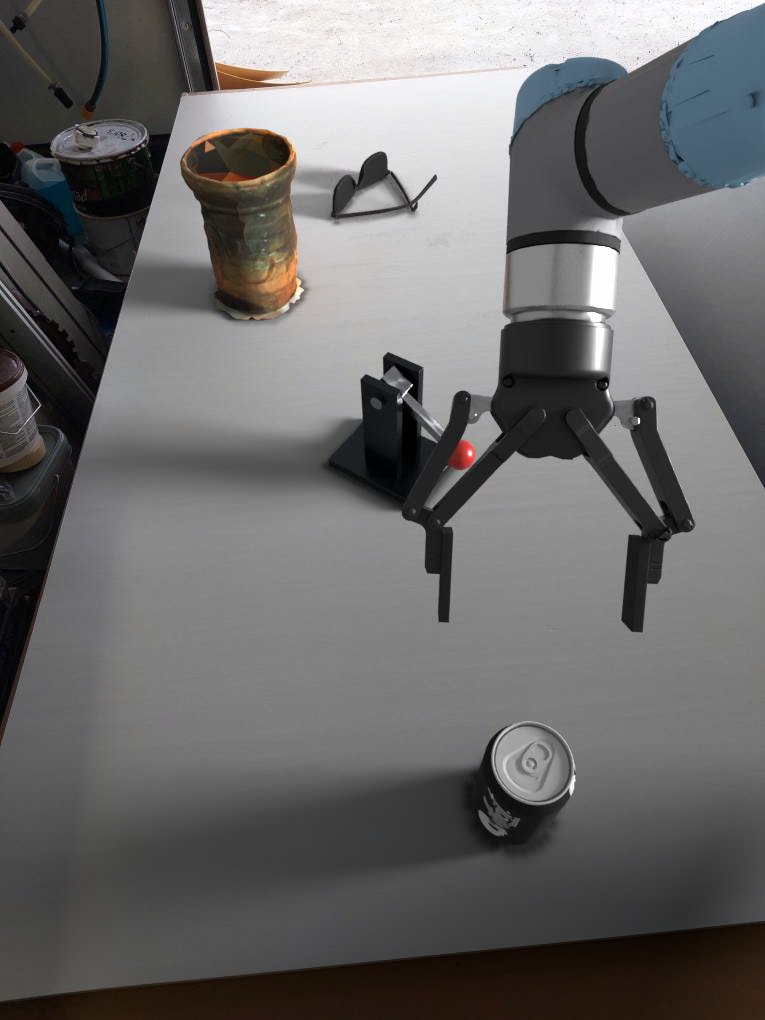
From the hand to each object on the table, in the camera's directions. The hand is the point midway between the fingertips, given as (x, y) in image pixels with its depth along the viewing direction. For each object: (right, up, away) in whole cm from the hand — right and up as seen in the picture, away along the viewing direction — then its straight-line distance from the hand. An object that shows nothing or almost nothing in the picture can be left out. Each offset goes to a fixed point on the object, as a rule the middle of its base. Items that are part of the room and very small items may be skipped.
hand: (536, 622), depth 50 cm
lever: (-7, +17, +22) cm, 29 cm away
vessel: (-29, +40, +50) cm, 70 cm away
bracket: (-10, +14, +30) cm, 35 cm away
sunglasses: (-10, +58, +63) cm, 87 cm away
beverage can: (-1, -17, +8) cm, 18 cm away
